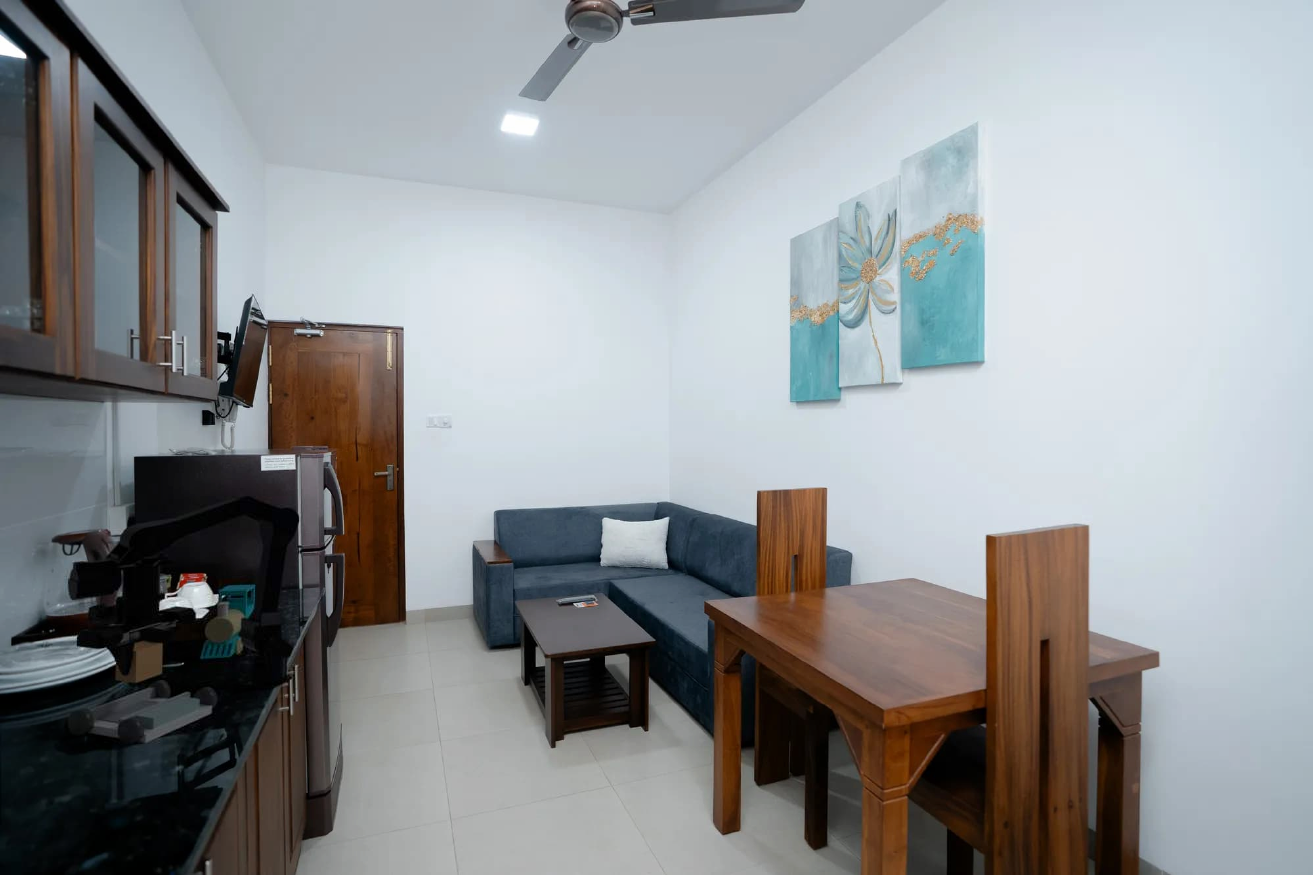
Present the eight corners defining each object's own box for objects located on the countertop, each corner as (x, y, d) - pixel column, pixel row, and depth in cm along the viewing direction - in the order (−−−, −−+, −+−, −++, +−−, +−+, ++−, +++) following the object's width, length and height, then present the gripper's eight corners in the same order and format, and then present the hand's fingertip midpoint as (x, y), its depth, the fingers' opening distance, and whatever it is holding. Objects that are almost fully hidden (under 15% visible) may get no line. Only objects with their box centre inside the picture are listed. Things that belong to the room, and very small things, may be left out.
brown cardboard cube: (142, 670, 127) (142, 640, 127) (161, 673, 126) (162, 643, 126) (115, 679, 122) (116, 648, 122) (135, 682, 121) (136, 651, 121)
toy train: (196, 662, 155) (197, 601, 155) (223, 641, 171) (224, 585, 171) (233, 660, 157) (234, 599, 157) (256, 639, 173) (258, 584, 173)
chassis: (152, 700, 133) (153, 678, 133) (218, 710, 129) (218, 688, 129) (66, 733, 118) (66, 709, 118) (137, 746, 113) (138, 721, 113)
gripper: (156, 577, 135) (155, 650, 135) (54, 598, 117) (52, 683, 117) (198, 581, 132) (197, 656, 132) (101, 603, 114) (99, 690, 114)
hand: (139, 670), depth 124 cm, fingers closed on brown cardboard cube, 5 cm apart
